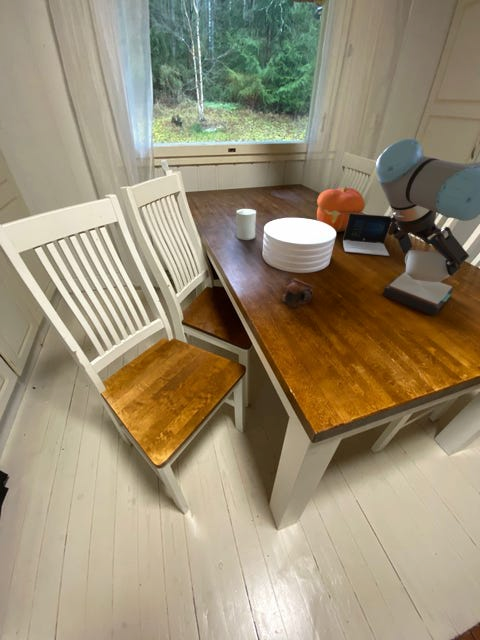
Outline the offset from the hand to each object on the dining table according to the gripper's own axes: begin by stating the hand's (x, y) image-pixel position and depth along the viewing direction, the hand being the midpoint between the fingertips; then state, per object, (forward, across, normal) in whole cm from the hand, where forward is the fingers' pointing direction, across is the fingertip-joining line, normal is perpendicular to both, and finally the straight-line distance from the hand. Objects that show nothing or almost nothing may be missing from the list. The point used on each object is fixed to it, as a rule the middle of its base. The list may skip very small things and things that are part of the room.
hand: (429, 259), depth 74 cm
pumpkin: (+31, -66, +6) cm, 73 cm away
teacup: (+2, +1, -5) cm, 6 cm away
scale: (+20, -5, -5) cm, 21 cm away
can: (-2, -75, -27) cm, 79 cm away
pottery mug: (-7, -18, -32) cm, 37 cm away
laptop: (+29, -41, +4) cm, 50 cm away
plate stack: (+6, -46, -20) cm, 51 cm away
